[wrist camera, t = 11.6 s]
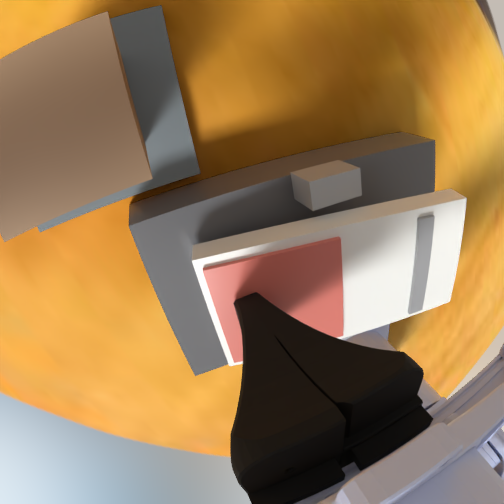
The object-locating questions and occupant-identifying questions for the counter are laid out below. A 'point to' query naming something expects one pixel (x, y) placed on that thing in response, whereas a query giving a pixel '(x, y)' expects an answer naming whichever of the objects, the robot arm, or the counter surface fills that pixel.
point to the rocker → (338, 267)
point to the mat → (150, 106)
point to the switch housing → (264, 217)
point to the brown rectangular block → (66, 126)
